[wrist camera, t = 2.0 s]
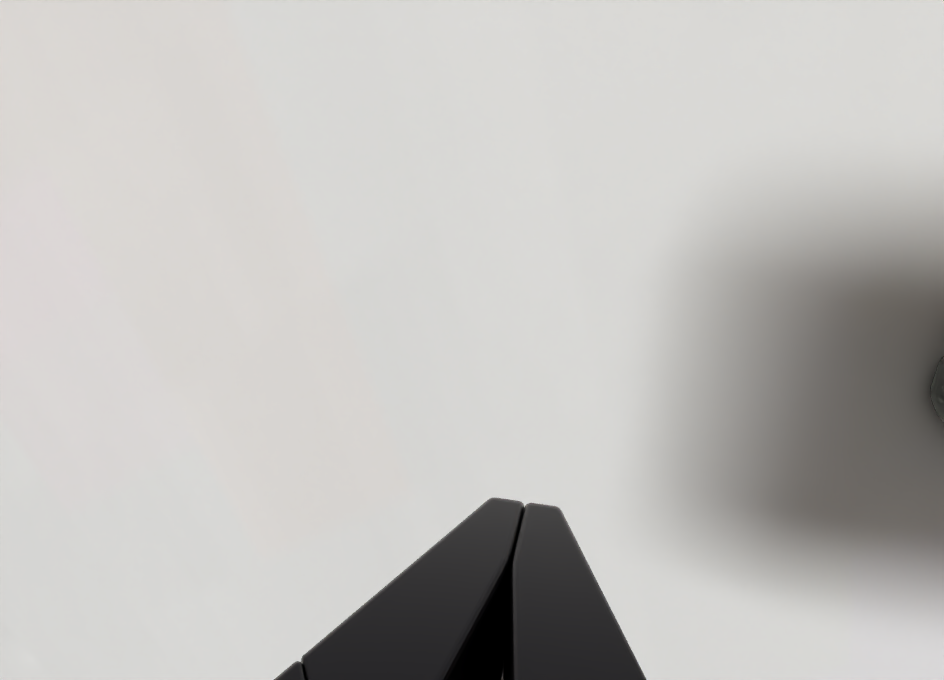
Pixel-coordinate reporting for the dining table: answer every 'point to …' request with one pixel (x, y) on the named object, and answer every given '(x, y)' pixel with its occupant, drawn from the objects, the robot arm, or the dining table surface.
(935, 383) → the composite cable
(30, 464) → the dining table surface
